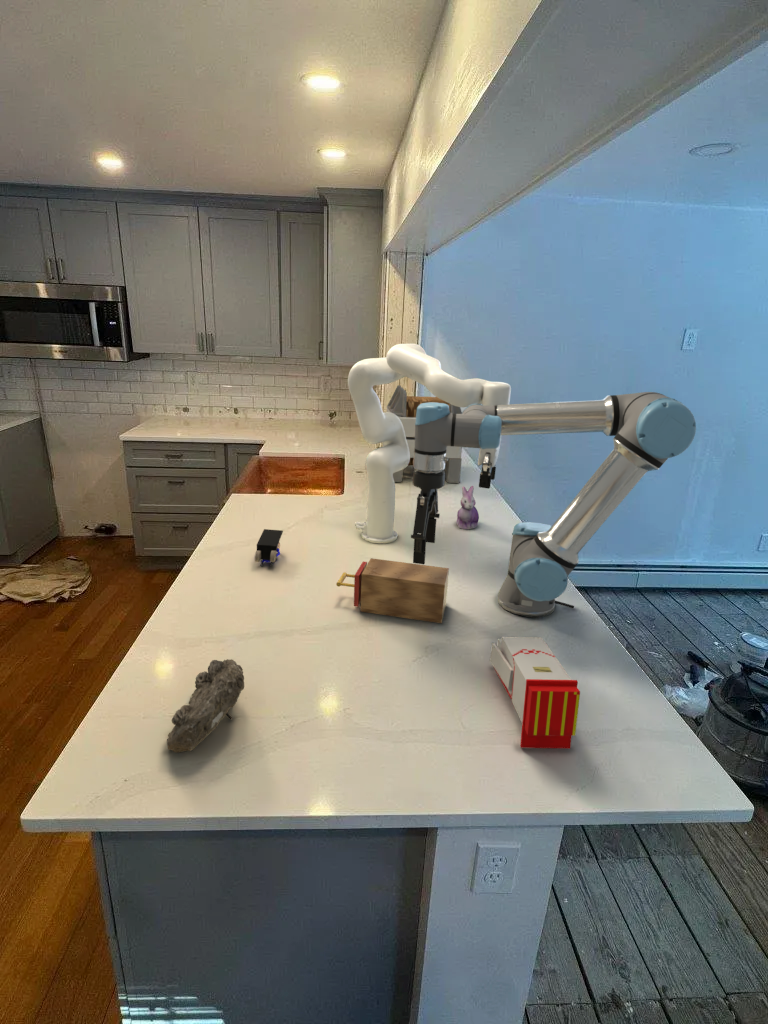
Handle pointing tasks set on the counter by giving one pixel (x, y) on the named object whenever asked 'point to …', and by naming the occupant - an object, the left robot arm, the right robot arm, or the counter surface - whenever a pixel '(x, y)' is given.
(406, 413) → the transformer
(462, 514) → the figurine
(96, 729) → the counter surface
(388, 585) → the cabinet
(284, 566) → the counter surface
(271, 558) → the figurine character
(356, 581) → the drawer
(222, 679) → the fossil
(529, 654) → the toy
